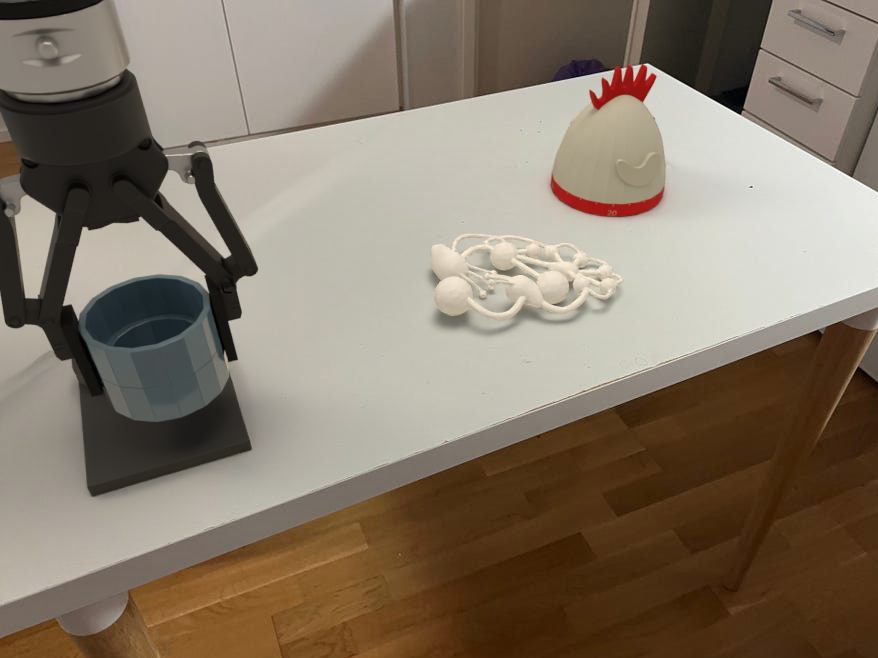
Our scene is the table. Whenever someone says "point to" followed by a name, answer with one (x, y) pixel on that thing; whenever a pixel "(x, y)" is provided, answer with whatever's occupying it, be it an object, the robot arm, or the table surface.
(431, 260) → the tangled rod sculpture
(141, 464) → the scale
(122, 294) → the bowl
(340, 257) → the table surface
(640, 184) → the kitchen timer
